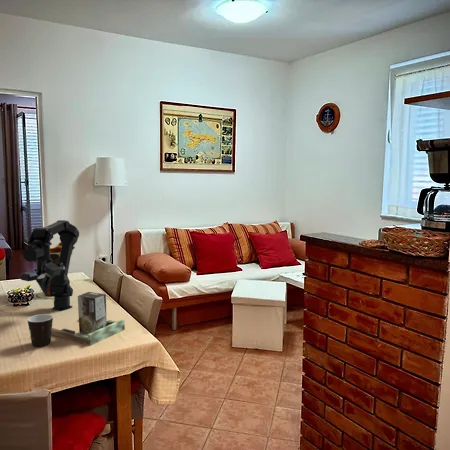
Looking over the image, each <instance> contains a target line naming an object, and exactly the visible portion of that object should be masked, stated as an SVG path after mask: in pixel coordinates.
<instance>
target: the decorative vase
mask: <svg viewBox="0 0 450 450" xmlns="http://www.w3.org/2000/svg"><path fill="white" fill-rule="evenodd" d="M61 247H62V243H61V241H60V242H58V244H57V245H56V246H53V247H50V259H53V263H54V264H57V263H59V258H60V253H61ZM74 249H76V248H75V245H74V246H73V247H72V253H71V256H72V255H73V250H74ZM34 263H35V264H36V262H34ZM40 274H42V273H40ZM50 282H51V280H50ZM49 286H50V283H49V285H48V288H47V292H46V293H43V291H42V289H41V288H40V290H39V291H40V292H37V293H35V294H34V295H33V296H34V298H35V299H37V300H53V299H54V296H51V294H50V290H49Z"/></svg>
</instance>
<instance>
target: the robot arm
mask: <svg viewBox="0 0 450 450" xmlns="http://www.w3.org/2000/svg"><path fill="white" fill-rule="evenodd" d="M56 234H58V235H59V241H60V242H61V243H62V247H61V253H60V258H59V263H57V264H54V263H53V259H50V248H51V246H52V241H51V240H53V238H54V235H56ZM79 237H80V230H79V229H78V228H77V226H75V225H73V224H72V223H70V221H69V220H64V219H63V220H60V219H58V220H57V221H55V222H53V223H51V224H49V225H47V226H44V227H43V226H40V227H34V228H33V229H32V231H31V234H30V237H29V240H28V243H27V246H26V247H27V248H25V249H24V251H23V252H22V257H23V258H24V260H25V261H27V262H34V263H35V262H36V263H35V265H36V266H35V268H34V272H33V271H26V272H21V274H20V281H26V282H33V281H35V282H36V283H37V284H38V286H39V288H40V289H41V292H43V293H46V292H47V288H48V285H49V283H50V286H49V290H50V294H51V296H54V300H53V307H52V310H56V311H64V310H65V311H66V310H68V309H72V308H73V305H71V297H72V296H73V293H74V289H73V288H72V286H71V285H70V284H71V282H70V279H69V277H68V274H69V267H70V264H71V257H72V255H71V253H72V254H73V251H72V247H73V246H74V247H75V245H76V244H77V242H78V239H79ZM40 273H42V274H40ZM50 280H51V282H50Z"/></svg>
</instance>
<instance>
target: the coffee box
mask: <svg viewBox="0 0 450 450" xmlns="http://www.w3.org/2000/svg"><path fill="white" fill-rule="evenodd" d="M77 306H78V307H77V310H78V311H77V312H78V329H79V330H78V331H79V332H78V333H79V334H82V335H86V336H88V334H89V333H92V332H94V331H96V330H99V329H101V328H103V327H106V326H107V321H108V320H107V294H105V293H101V292H100V293H99V292H93V291H87V292H85V293H82V294H79V295H77Z"/></svg>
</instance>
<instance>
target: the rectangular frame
mask: <svg viewBox="0 0 450 450" xmlns="http://www.w3.org/2000/svg"><path fill="white" fill-rule="evenodd" d="M125 330H126V326H125V319H120V320H118V321H116V320H111V319H108V320H107V326H106V327H103V328H101V329H99V330H96V331H94V332H92V333H89V334H88V336H86V335H82V334H79V332H77V333H76V331H75V330H72V329H68V328H62V329H58V328H53V327H52V334H51V336H56V337H59V338H62V339H66V340H70V341H74V342H76V343H81V344H84V345H87V346H92V345H95V344H97V343H99V342H101V341H103V340H105V339H108V338H109V337H112V336H114V335H117V334H118V333H120V332H122V331H125Z"/></svg>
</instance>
